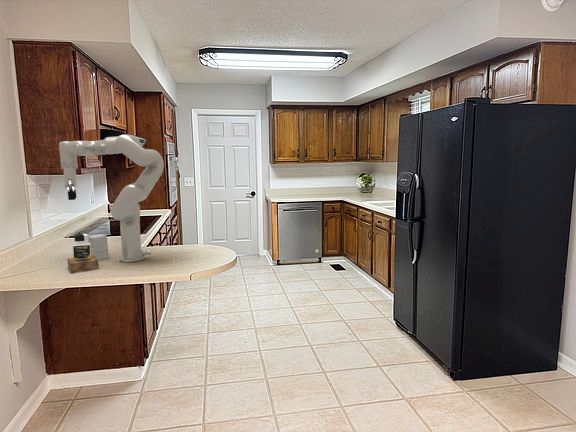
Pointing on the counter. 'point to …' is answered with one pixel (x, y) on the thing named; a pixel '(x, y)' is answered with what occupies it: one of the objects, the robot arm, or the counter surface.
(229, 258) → the counter surface
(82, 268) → the walnut block
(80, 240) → the medicine bottle
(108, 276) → the counter surface
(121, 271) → the counter surface
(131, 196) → the robot arm
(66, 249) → the counter surface
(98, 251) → the supplement box
